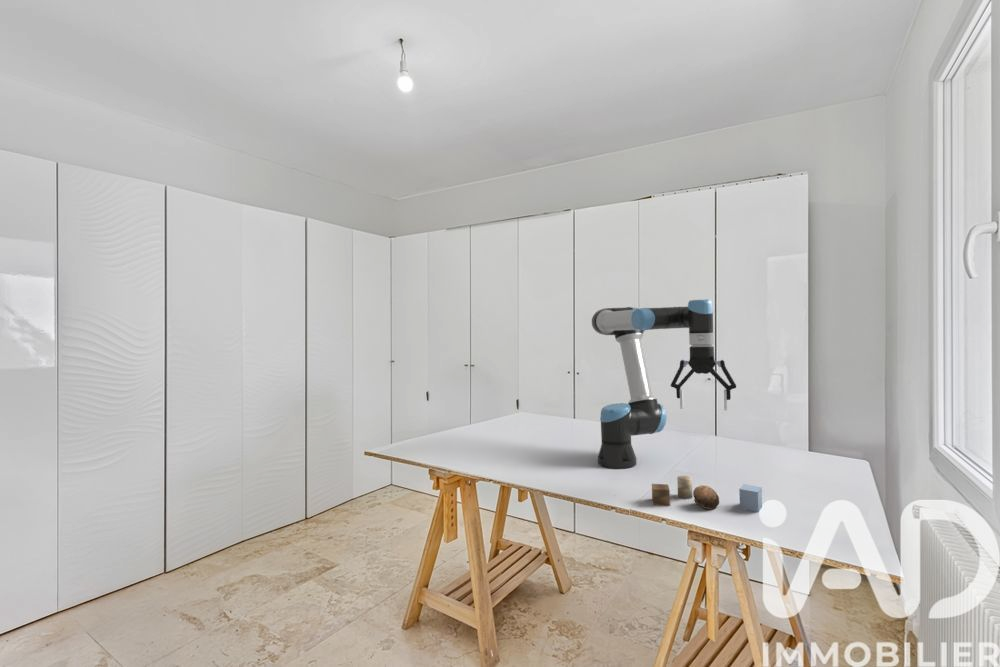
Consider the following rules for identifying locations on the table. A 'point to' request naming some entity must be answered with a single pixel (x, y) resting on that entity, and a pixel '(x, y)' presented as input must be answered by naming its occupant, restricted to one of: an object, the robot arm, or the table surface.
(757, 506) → the slate block
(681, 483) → the birch cylinder
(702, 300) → the robot arm
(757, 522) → the table surface
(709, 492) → the mushroom
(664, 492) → the walnut block
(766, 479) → the table surface
